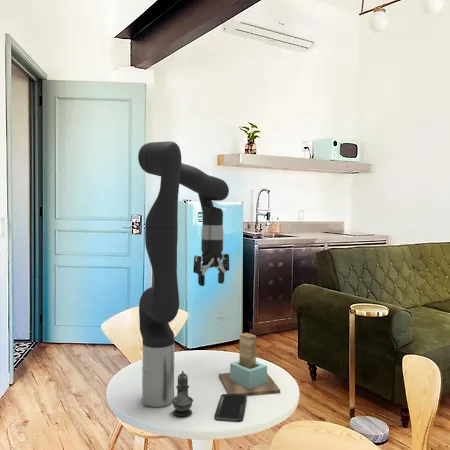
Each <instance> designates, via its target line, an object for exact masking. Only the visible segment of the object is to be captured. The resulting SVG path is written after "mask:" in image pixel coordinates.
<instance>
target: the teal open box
mask: <svg viewBox="0 0 450 450" xmlns="http://www.w3.org/2000/svg"><path fill="white" fill-rule="evenodd" d="M229 367H230V368H229V371H230V372H229V373H230V380H231V381H233V382H235V383H238V384H240V385H242V386H244V387H246V388H248V389H251V388H254V387H257V386H260V385H262V384H265V383H267V374H268V366H267V365H266V364H263V363H260V362H259V361H256V367H255V368H252V369H248V368H246V367H244V366H241V365H239V360H237V361H233V362H230V365H229Z"/></svg>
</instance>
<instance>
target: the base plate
mask: <svg viewBox="0 0 450 450" xmlns="http://www.w3.org/2000/svg"><path fill="white" fill-rule="evenodd" d="M218 378H219V380H220V381H221V384H222V386H223V388H224V389H225V391H226V394H229V395H230V396H231V395H245V396H247V397H249V396H251V397H252V396H259V395H262V396H263V395H271V394H273V395H274V394H280V393H281V388H279V386H278V385H277V384H276V383H275V381H274V380H273V379H272V378H271V376H270V375H269V374H268V373H267V383H265V384H262V385H260V386H257V387H254V388H251V389H248V388H246V387H244V386H242V385H240V384H238V383H235V382H233V381H231V380H230V372H224V373H218Z"/></svg>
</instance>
